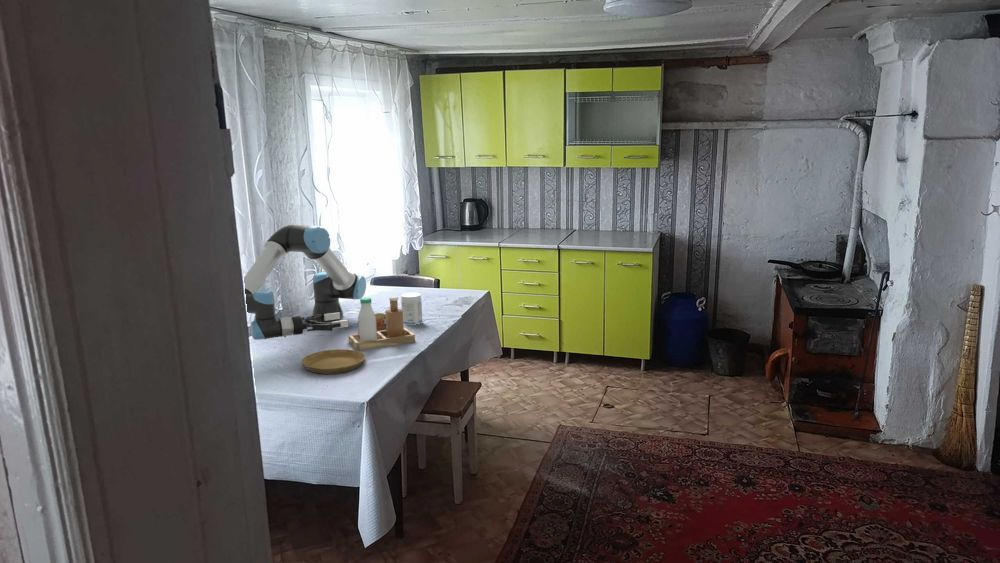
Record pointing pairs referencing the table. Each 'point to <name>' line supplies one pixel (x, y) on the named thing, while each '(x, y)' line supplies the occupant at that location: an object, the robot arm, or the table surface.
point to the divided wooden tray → (381, 340)
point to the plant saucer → (333, 361)
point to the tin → (380, 320)
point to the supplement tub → (411, 308)
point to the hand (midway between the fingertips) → (343, 319)
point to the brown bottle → (394, 319)
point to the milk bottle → (366, 321)
